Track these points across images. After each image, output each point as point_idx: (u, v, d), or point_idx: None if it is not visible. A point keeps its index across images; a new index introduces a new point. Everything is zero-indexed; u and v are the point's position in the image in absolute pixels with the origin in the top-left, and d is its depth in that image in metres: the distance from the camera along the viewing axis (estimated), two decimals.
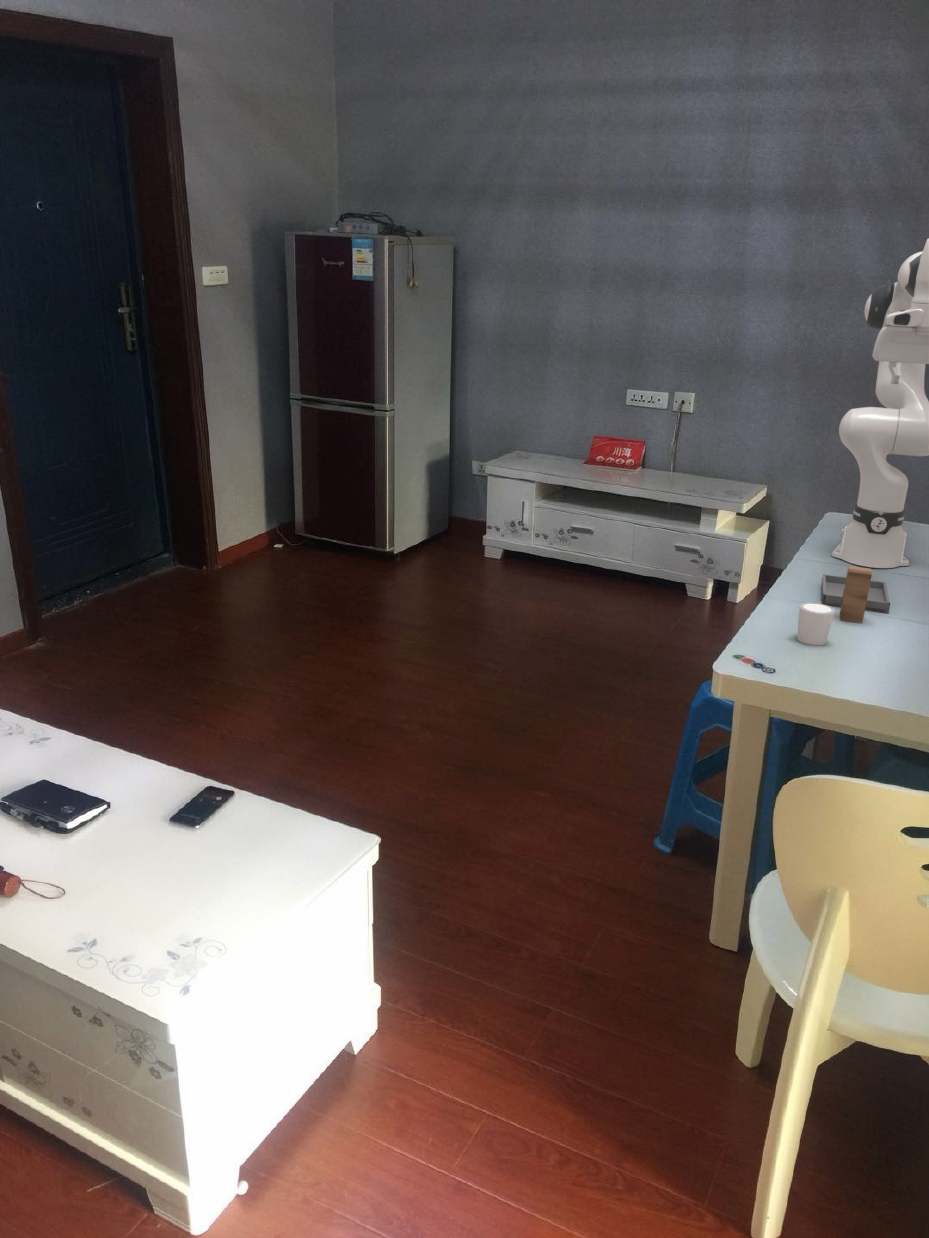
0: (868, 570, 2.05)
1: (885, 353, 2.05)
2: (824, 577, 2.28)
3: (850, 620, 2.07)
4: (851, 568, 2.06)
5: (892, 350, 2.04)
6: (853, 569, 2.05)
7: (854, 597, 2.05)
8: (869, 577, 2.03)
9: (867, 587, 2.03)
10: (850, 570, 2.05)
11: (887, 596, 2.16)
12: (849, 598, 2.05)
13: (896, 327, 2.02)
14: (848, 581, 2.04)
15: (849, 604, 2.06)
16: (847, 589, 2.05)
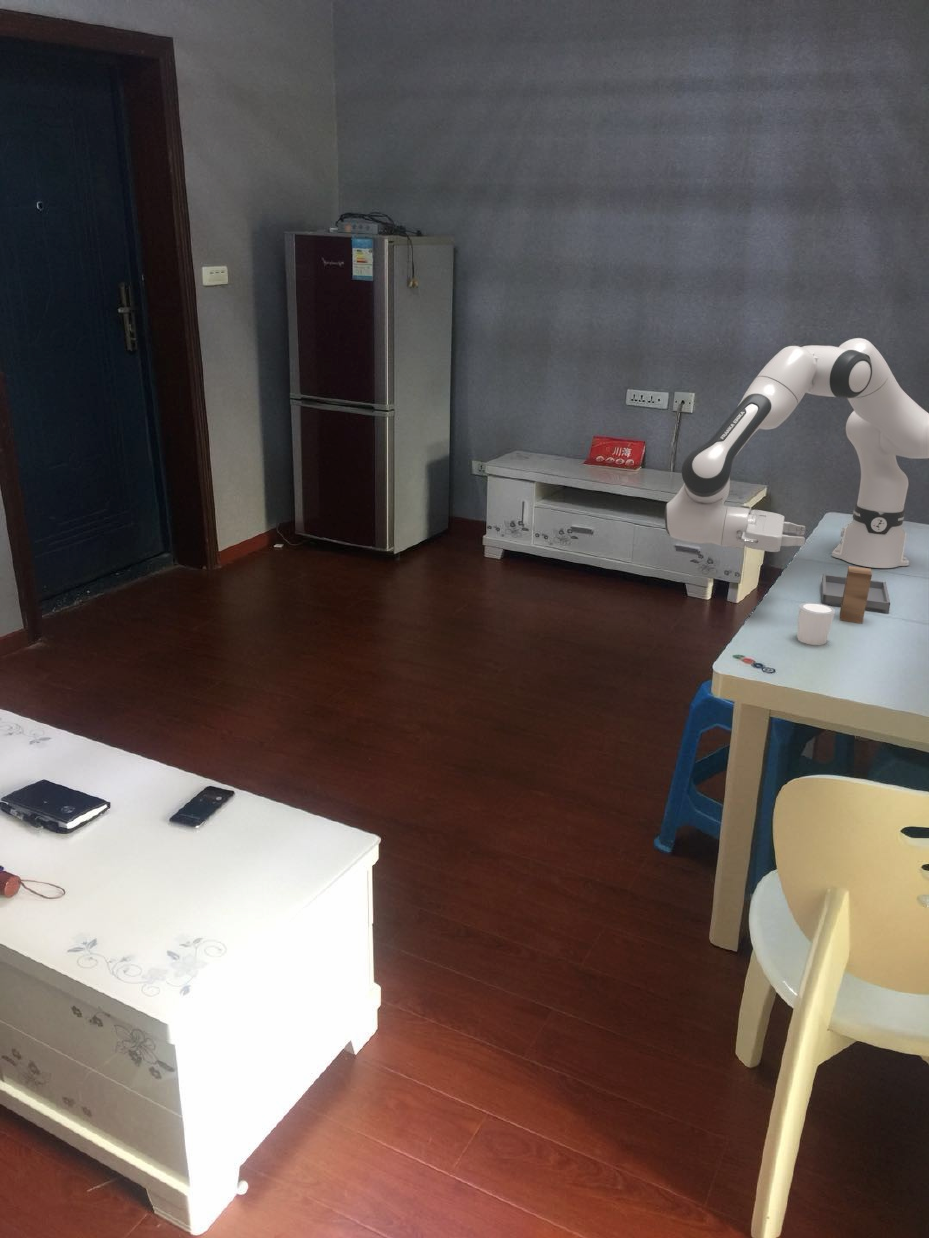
0: (868, 570, 2.05)
1: None
2: (824, 577, 2.28)
3: (850, 620, 2.07)
4: (851, 568, 2.06)
5: None
6: (853, 569, 2.05)
7: (854, 597, 2.05)
8: (869, 577, 2.03)
9: (867, 587, 2.03)
10: (850, 570, 2.05)
11: (887, 596, 2.16)
12: (849, 598, 2.05)
13: None
14: (848, 581, 2.04)
15: (849, 604, 2.06)
16: (847, 589, 2.05)
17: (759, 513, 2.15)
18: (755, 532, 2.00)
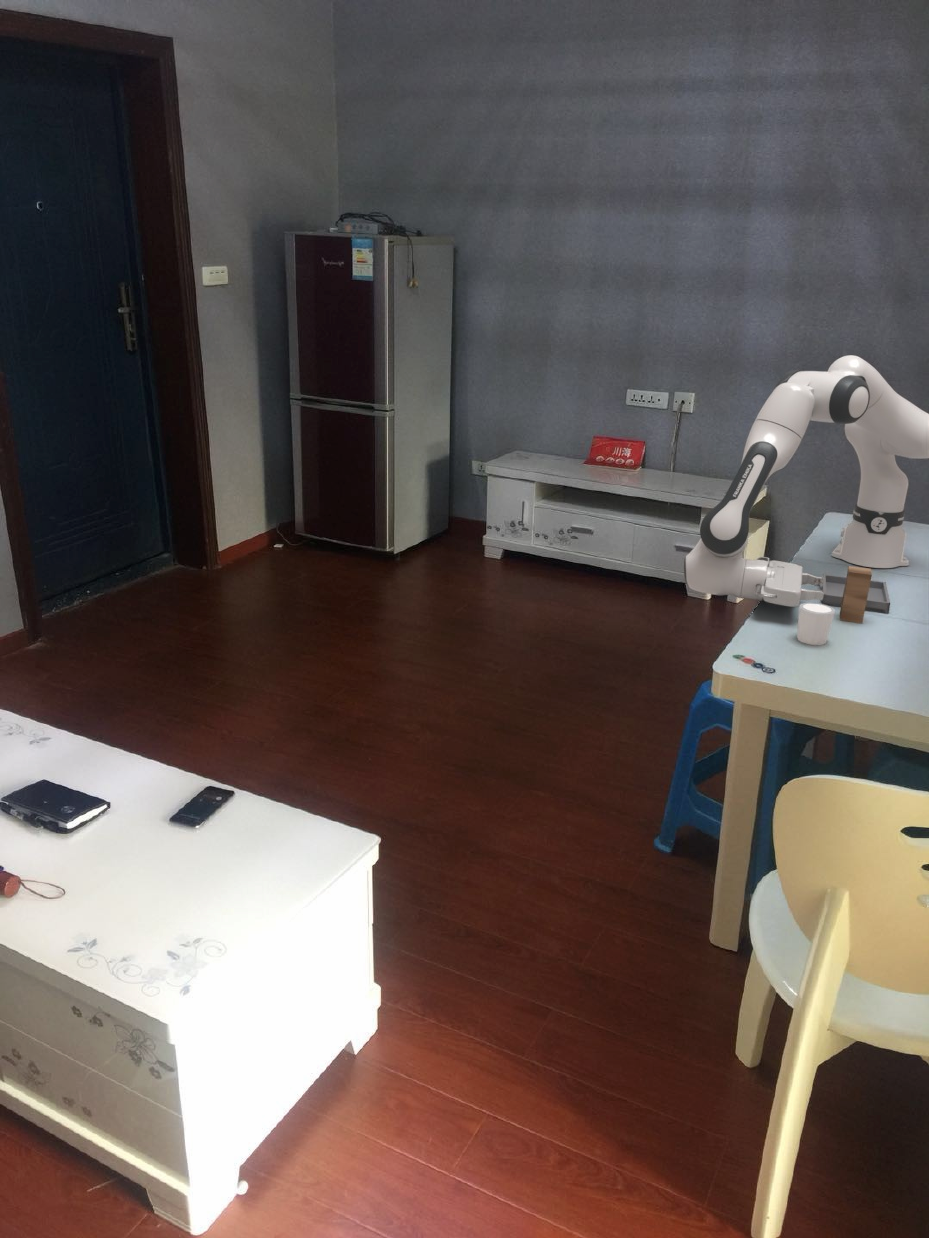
0: (868, 570, 2.05)
1: None
2: (824, 577, 2.28)
3: (850, 620, 2.07)
4: (851, 568, 2.06)
5: None
6: (853, 569, 2.05)
7: (854, 597, 2.05)
8: (869, 577, 2.03)
9: (867, 587, 2.03)
10: (850, 570, 2.05)
11: (887, 596, 2.16)
12: (849, 598, 2.05)
13: None
14: (848, 581, 2.04)
15: (849, 604, 2.06)
16: (847, 589, 2.05)
17: (778, 564, 2.18)
18: (774, 587, 2.03)
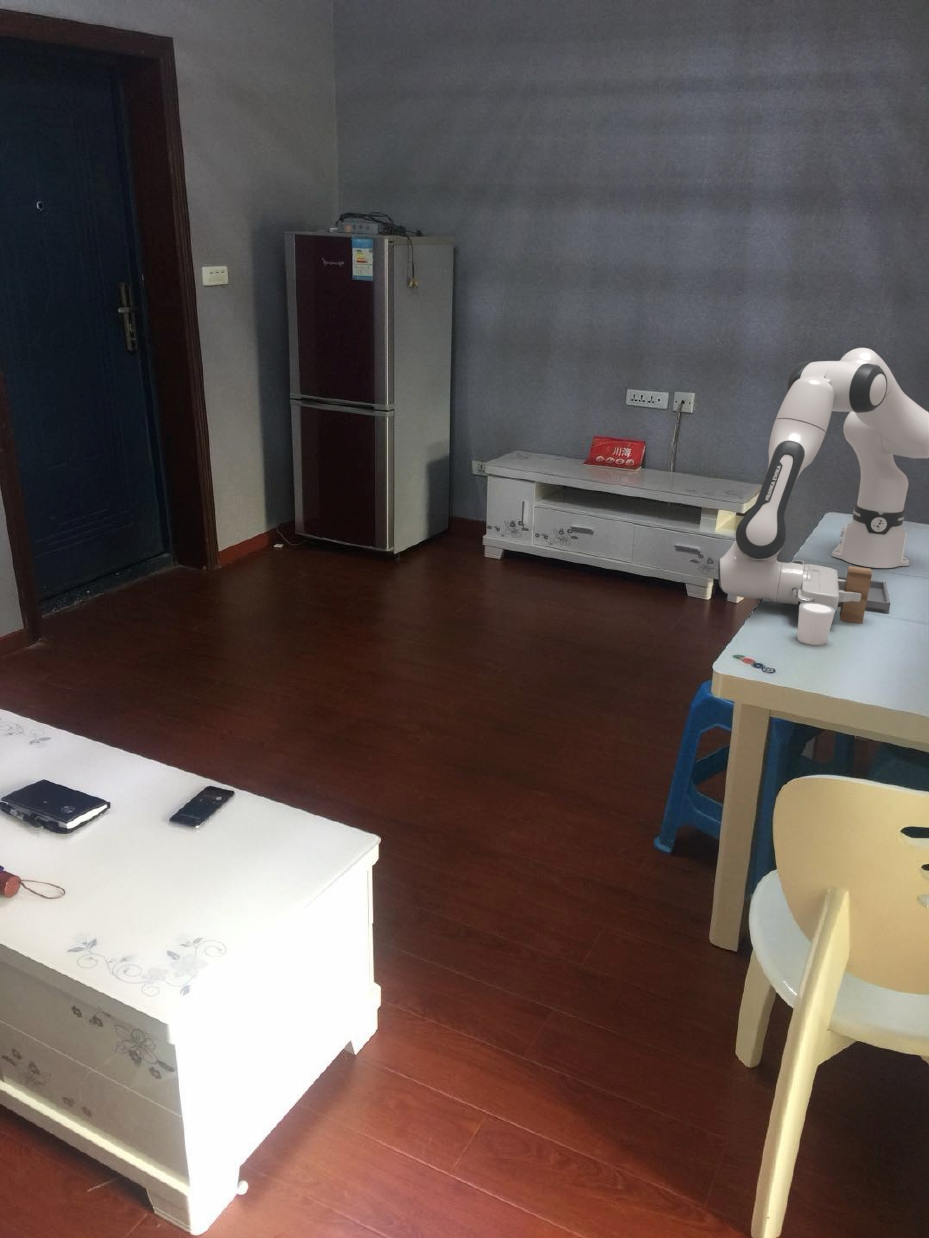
0: (868, 570, 2.05)
1: None
2: None
3: (850, 620, 2.07)
4: (851, 568, 2.06)
5: None
6: (853, 569, 2.05)
7: None
8: (869, 577, 2.03)
9: (867, 587, 2.03)
10: (850, 570, 2.05)
11: (887, 596, 2.16)
12: None
13: None
14: (848, 581, 2.04)
15: (849, 603, 2.06)
16: (847, 589, 2.05)
17: (812, 568, 2.15)
18: (812, 591, 2.01)
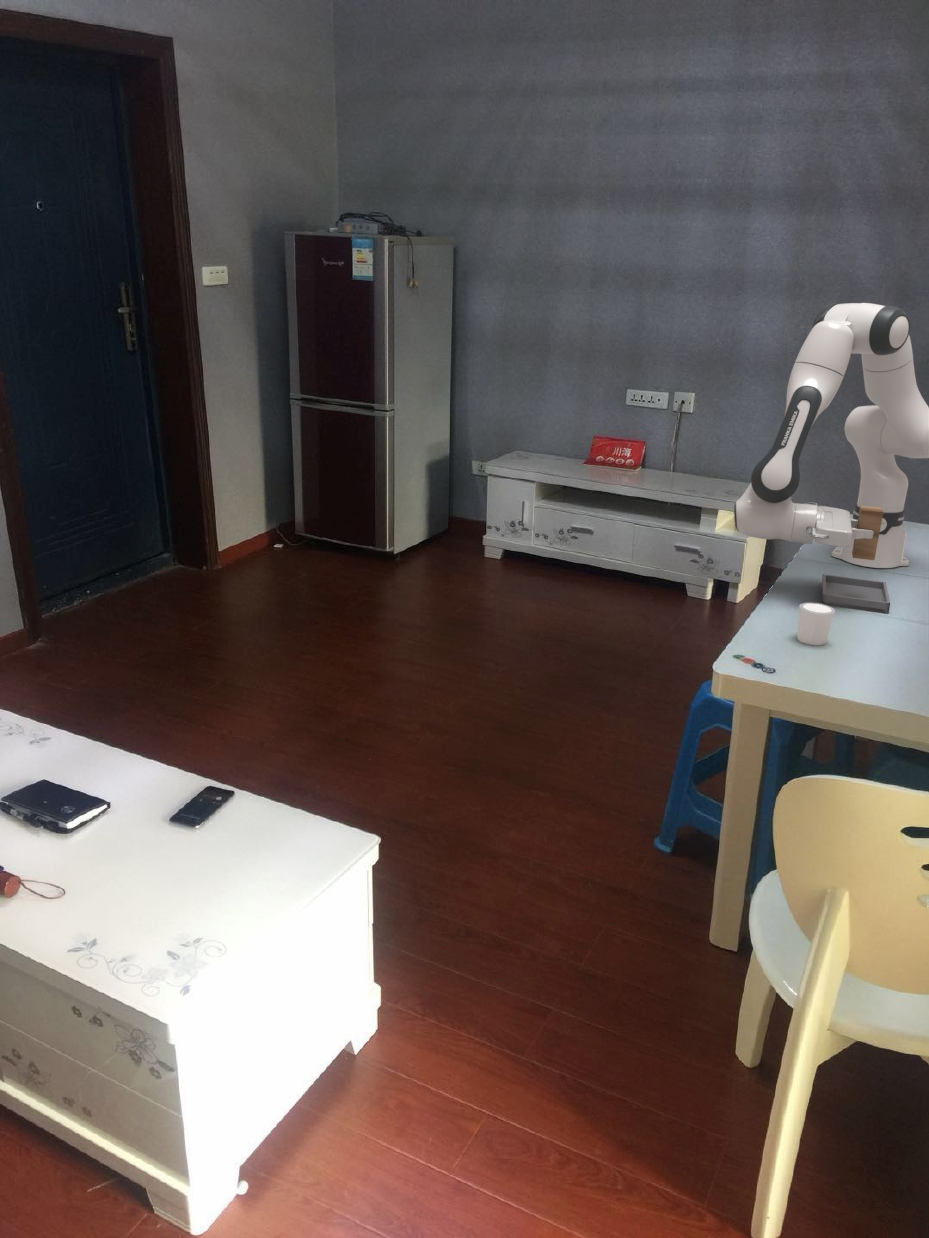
0: (879, 508, 2.13)
1: None
2: (824, 577, 2.28)
3: (862, 557, 2.14)
4: (863, 507, 2.14)
5: None
6: (865, 508, 2.13)
7: None
8: (881, 514, 2.10)
9: (879, 524, 2.11)
10: (862, 508, 2.12)
11: (887, 596, 2.16)
12: None
13: None
14: (860, 519, 2.12)
15: (861, 541, 2.13)
16: (859, 527, 2.13)
17: (825, 509, 2.23)
18: (826, 528, 2.08)
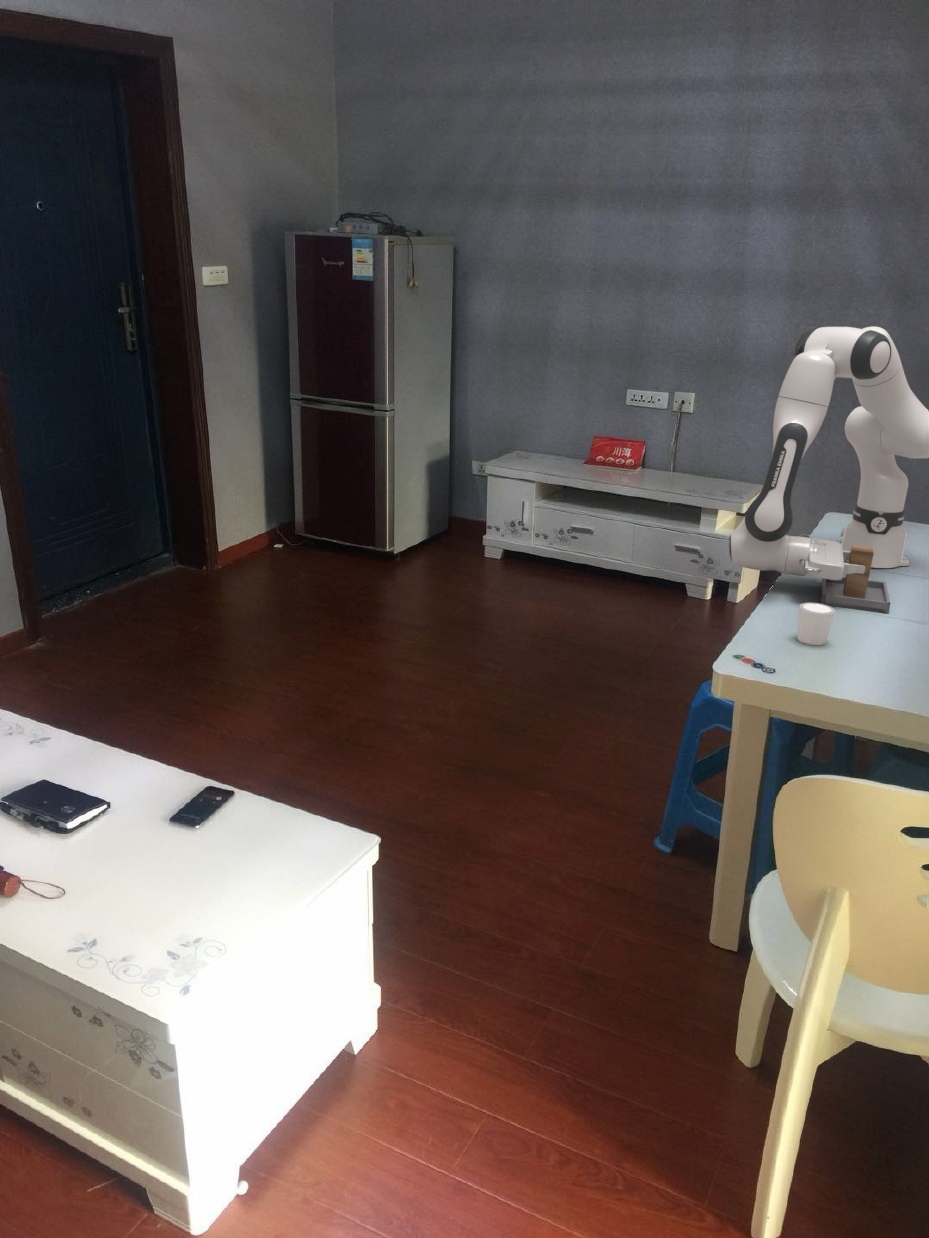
0: (870, 548, 2.18)
1: None
2: None
3: (853, 596, 2.19)
4: (854, 546, 2.19)
5: None
6: (856, 548, 2.18)
7: (857, 574, 2.18)
8: (871, 555, 2.15)
9: (869, 564, 2.16)
10: (853, 548, 2.17)
11: (887, 596, 2.16)
12: (852, 575, 2.18)
13: None
14: (851, 559, 2.17)
15: (852, 580, 2.18)
16: None
17: (819, 541, 2.28)
18: (818, 561, 2.13)
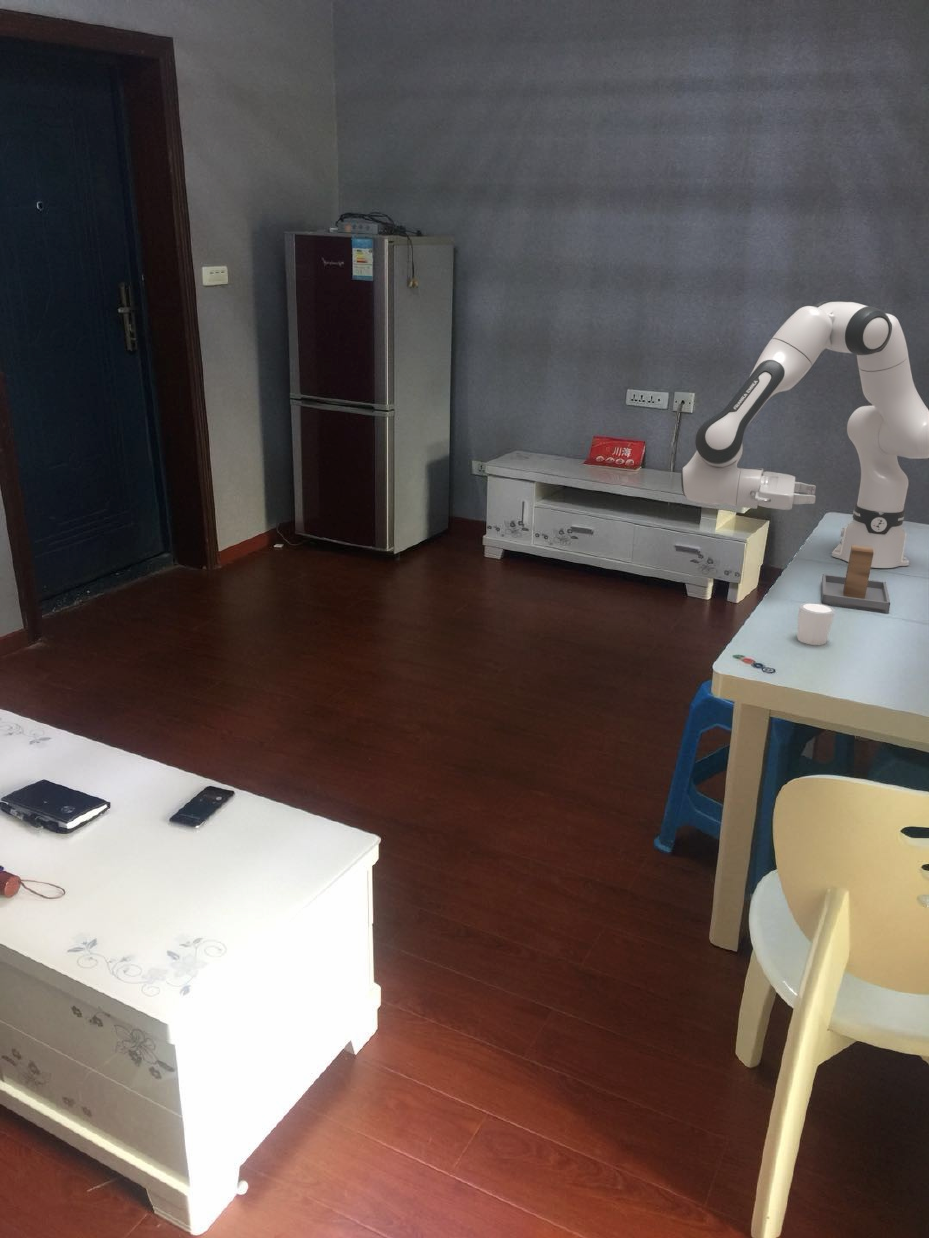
0: (870, 548, 2.18)
1: None
2: (824, 577, 2.28)
3: (853, 596, 2.19)
4: (854, 546, 2.19)
5: None
6: (856, 548, 2.18)
7: (857, 574, 2.18)
8: (871, 555, 2.15)
9: (869, 564, 2.16)
10: (853, 548, 2.17)
11: (887, 596, 2.16)
12: (852, 575, 2.18)
13: None
14: (851, 559, 2.17)
15: (852, 580, 2.18)
16: (850, 566, 2.18)
17: (771, 475, 2.26)
18: (768, 491, 2.12)
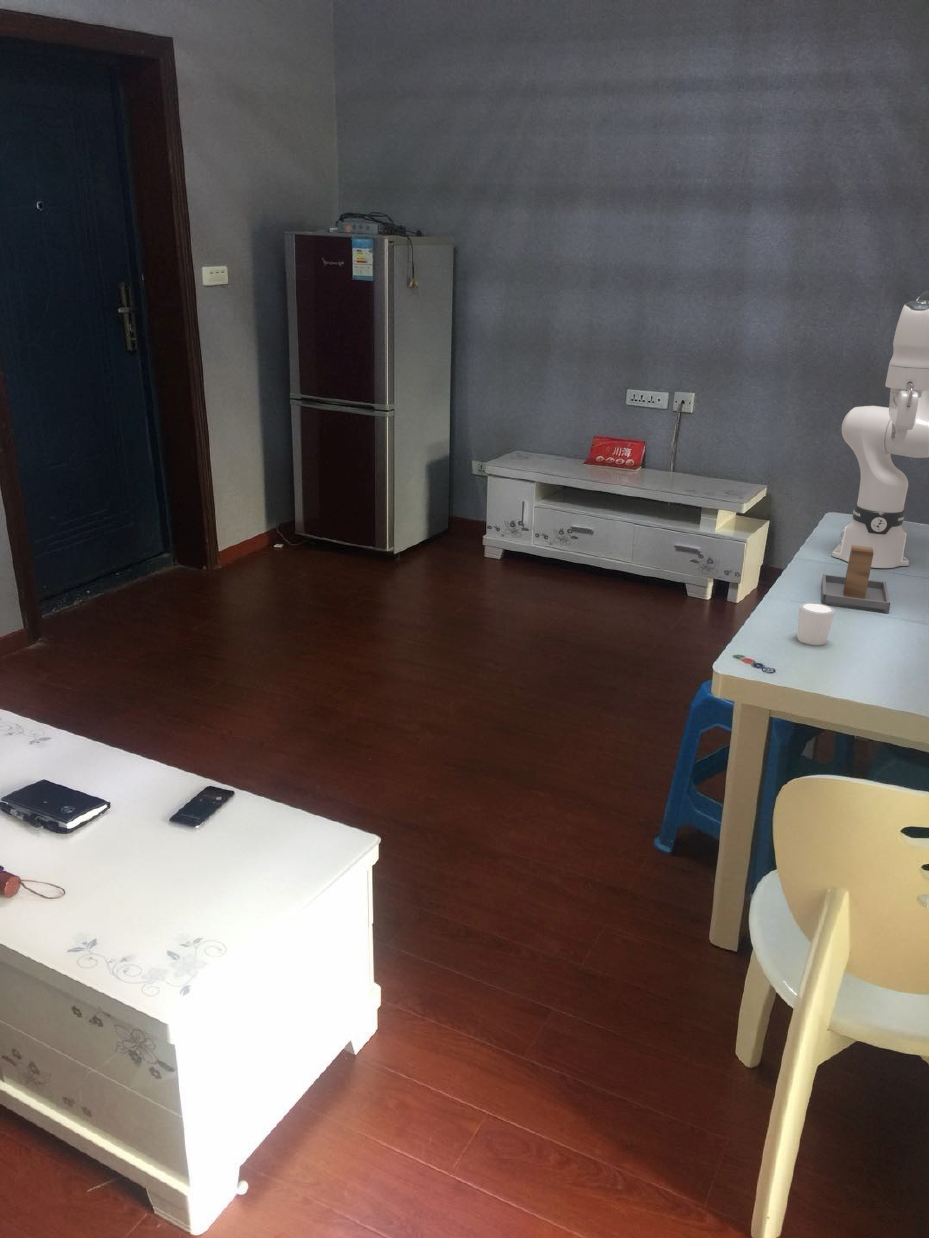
0: (870, 548, 2.18)
1: (890, 409, 2.17)
2: (824, 577, 2.28)
3: (853, 596, 2.19)
4: (854, 546, 2.19)
5: (891, 407, 2.16)
6: (856, 548, 2.18)
7: (857, 574, 2.18)
8: (871, 555, 2.15)
9: (869, 564, 2.16)
10: (853, 548, 2.17)
11: (887, 596, 2.16)
12: (852, 575, 2.18)
13: None
14: (851, 559, 2.17)
15: (852, 580, 2.18)
16: (850, 566, 2.18)
17: None
18: (917, 404, 2.00)
